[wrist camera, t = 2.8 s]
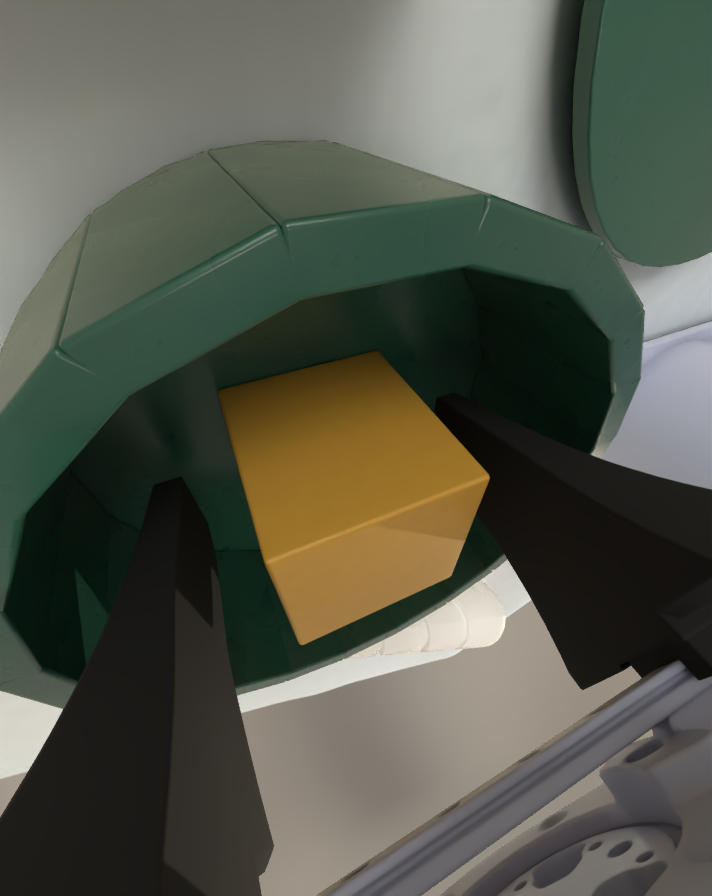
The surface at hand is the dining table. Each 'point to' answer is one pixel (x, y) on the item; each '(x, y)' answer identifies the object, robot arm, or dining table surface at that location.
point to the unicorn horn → (450, 626)
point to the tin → (273, 373)
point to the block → (349, 488)
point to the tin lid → (645, 127)
